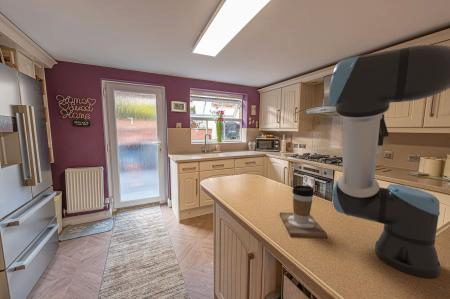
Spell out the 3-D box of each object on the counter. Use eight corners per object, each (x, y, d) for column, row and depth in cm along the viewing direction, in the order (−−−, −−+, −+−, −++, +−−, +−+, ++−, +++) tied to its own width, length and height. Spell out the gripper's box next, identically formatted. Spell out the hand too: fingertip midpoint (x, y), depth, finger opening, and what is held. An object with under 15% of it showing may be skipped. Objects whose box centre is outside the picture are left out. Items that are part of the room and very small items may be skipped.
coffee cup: (313, 226, 77) (316, 191, 76) (292, 224, 79) (294, 189, 77) (308, 217, 85) (311, 185, 84) (289, 215, 87) (291, 183, 85)
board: (327, 237, 73) (327, 233, 73) (289, 236, 74) (290, 231, 74) (309, 216, 91) (309, 212, 91) (279, 215, 92) (279, 211, 91)
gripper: (404, 99, 72) (398, 155, 74) (361, 107, 97) (357, 148, 99) (383, 99, 73) (377, 154, 75) (346, 107, 97) (342, 148, 100)
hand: (366, 151), depth 87 cm, fingers open, 13 cm apart
